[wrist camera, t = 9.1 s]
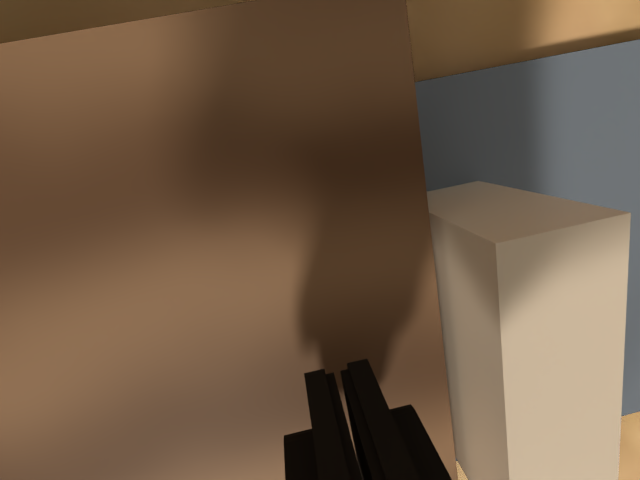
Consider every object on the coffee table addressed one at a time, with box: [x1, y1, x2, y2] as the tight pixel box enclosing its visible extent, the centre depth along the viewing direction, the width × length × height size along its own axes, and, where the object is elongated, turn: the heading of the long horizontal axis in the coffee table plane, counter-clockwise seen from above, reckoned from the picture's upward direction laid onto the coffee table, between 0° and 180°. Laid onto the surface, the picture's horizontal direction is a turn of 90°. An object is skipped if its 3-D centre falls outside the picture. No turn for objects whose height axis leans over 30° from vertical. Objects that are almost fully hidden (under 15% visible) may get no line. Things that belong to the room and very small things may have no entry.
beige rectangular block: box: [427, 181, 631, 480], centre depth 12 cm, size 9×6×3 cm
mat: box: [415, 39, 640, 461], centre depth 15 cm, size 16×10×1 cm, turn 11°
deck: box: [0, 0, 458, 480], centre depth 13 cm, size 20×14×4 cm
